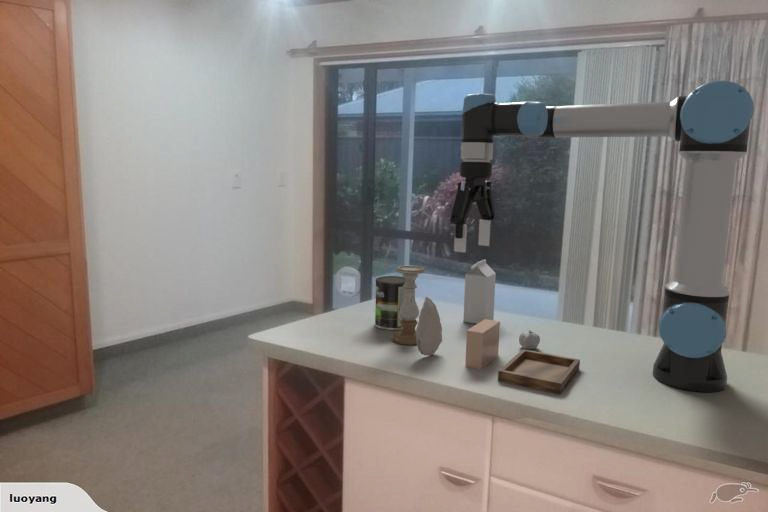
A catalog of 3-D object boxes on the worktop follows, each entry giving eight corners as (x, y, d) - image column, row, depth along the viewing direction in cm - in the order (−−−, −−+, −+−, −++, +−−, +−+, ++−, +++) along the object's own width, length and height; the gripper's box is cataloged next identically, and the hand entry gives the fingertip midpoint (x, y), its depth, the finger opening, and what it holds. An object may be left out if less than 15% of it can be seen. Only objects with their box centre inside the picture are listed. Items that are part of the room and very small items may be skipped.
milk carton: (493, 320, 180) (496, 260, 177) (484, 325, 174) (487, 263, 171) (472, 316, 184) (475, 258, 181) (463, 322, 178) (465, 261, 175)
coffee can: (380, 331, 167) (381, 283, 164) (370, 321, 176) (371, 276, 174) (414, 329, 170) (415, 282, 168) (402, 319, 180) (403, 275, 177)
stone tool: (422, 361, 143) (424, 302, 140) (412, 358, 145) (413, 299, 142) (443, 352, 150) (445, 295, 147) (433, 349, 152) (435, 293, 149)
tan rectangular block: (498, 355, 148) (499, 321, 147) (480, 369, 138) (482, 333, 137) (483, 352, 150) (485, 319, 149) (465, 366, 140) (466, 330, 139)
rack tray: (579, 369, 139) (579, 359, 139) (560, 394, 124) (561, 383, 123) (522, 358, 146) (522, 349, 146) (497, 380, 131) (498, 370, 130)
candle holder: (429, 343, 157) (432, 269, 153) (400, 346, 154) (401, 271, 150) (416, 334, 165) (418, 264, 161) (387, 337, 162) (389, 265, 158)
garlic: (538, 353, 151) (539, 333, 150) (517, 350, 152) (518, 331, 152) (540, 346, 156) (541, 327, 155) (519, 343, 158) (520, 325, 157)
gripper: (483, 161, 151) (479, 241, 155) (437, 160, 131) (434, 253, 134) (510, 161, 147) (506, 244, 150) (467, 160, 126) (463, 256, 130)
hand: (472, 248), depth 142 cm, fingers open, 13 cm apart
